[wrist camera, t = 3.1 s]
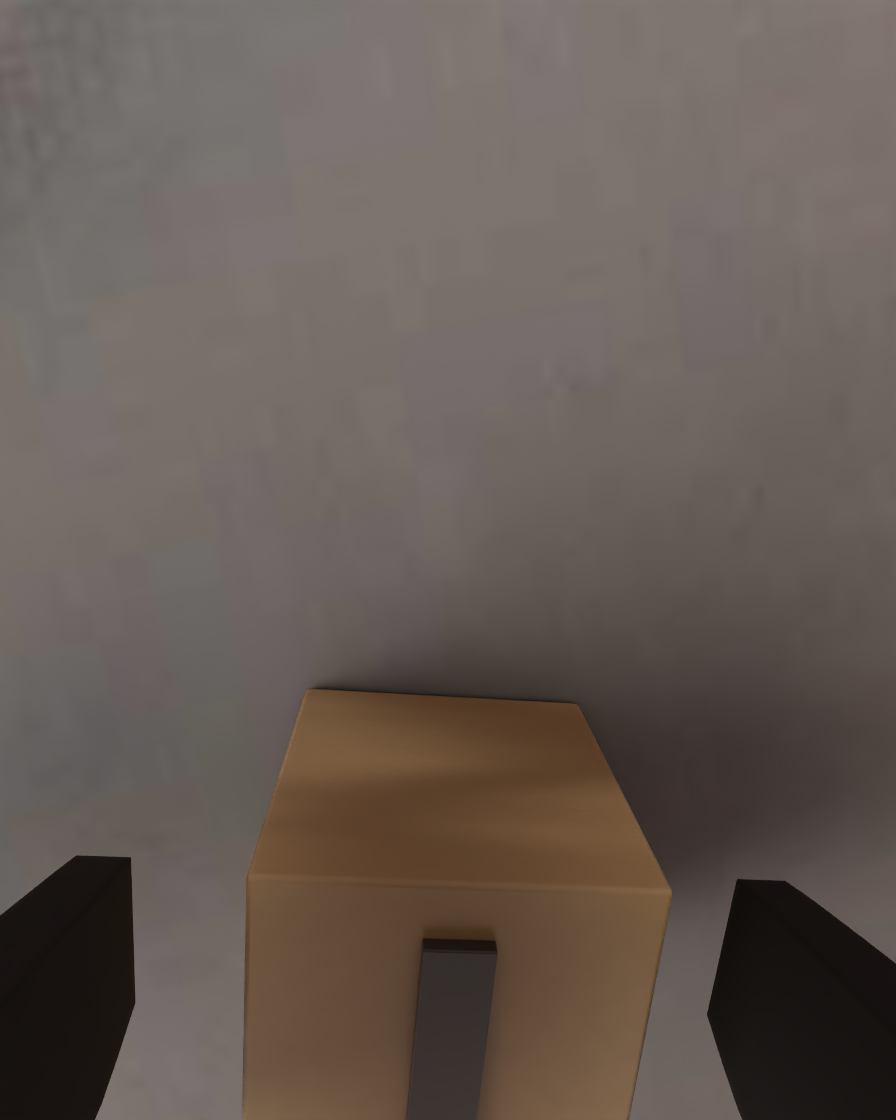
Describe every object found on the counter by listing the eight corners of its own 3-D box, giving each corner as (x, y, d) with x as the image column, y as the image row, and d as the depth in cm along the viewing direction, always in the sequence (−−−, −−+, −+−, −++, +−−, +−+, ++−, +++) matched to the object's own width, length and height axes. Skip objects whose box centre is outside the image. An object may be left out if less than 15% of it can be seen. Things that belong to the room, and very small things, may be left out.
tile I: (578, 701, 11) (682, 904, 7) (546, 928, 12) (618, 1222, 8) (306, 687, 10) (241, 889, 6) (296, 920, 11) (236, 1221, 7)
